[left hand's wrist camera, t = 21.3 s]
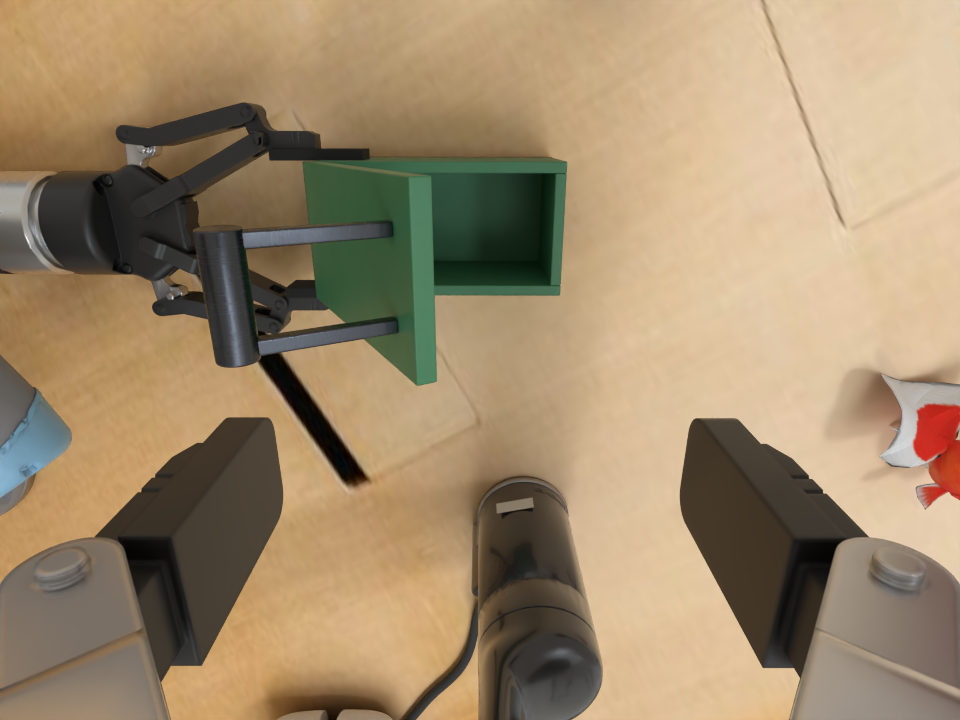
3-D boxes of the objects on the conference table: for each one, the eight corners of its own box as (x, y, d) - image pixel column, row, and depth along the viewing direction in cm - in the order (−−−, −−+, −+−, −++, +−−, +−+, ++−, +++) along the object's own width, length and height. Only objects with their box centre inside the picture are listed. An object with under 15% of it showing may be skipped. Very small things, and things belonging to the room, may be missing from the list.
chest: (550, 157, 47) (567, 161, 38) (545, 267, 50) (560, 295, 41) (345, 156, 47) (312, 160, 38) (353, 267, 50) (325, 295, 41)
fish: (885, 543, 55) (989, 560, 45) (808, 396, 57) (892, 382, 47) (967, 494, 57) (1083, 501, 48) (891, 354, 59) (987, 332, 49)
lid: (431, 175, 23) (187, 182, 19) (437, 382, 27) (230, 426, 22) (318, 161, 38) (165, 163, 34) (330, 296, 41) (193, 313, 37)
